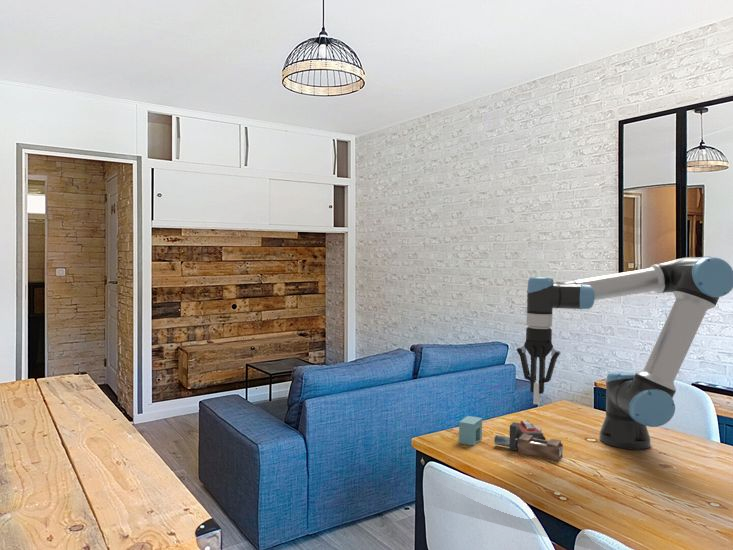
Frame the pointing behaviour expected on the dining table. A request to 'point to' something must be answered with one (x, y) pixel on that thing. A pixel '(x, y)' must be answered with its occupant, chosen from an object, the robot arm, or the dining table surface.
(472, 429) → the socket
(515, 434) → the rod
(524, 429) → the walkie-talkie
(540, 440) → the sleeve
